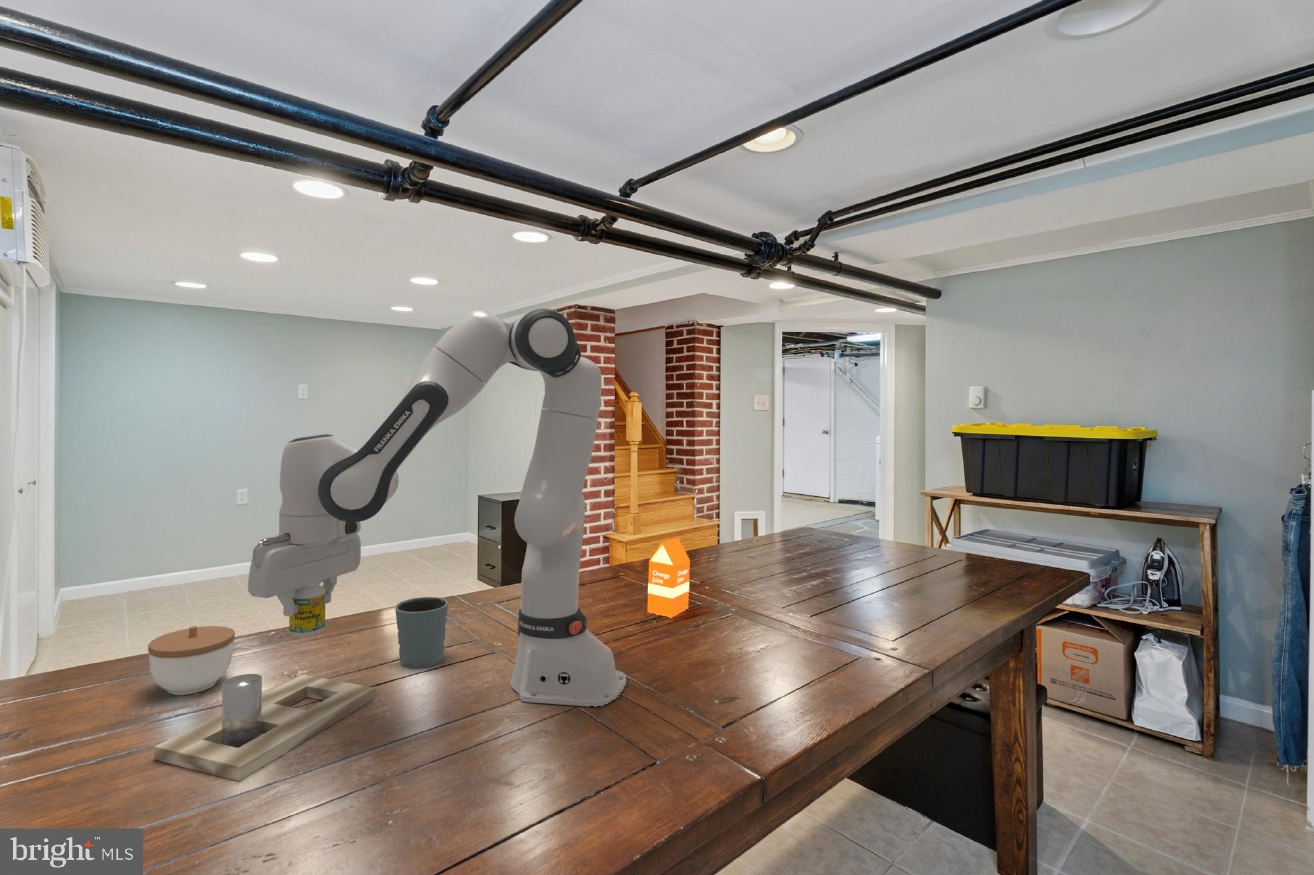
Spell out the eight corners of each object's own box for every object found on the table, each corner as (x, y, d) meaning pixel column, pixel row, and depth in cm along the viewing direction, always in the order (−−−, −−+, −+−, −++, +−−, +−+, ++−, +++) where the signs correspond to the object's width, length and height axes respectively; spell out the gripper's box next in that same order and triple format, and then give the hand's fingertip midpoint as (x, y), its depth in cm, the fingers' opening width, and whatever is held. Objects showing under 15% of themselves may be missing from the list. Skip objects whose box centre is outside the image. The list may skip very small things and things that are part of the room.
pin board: (374, 698, 109) (374, 687, 109) (239, 781, 84) (239, 766, 83) (302, 685, 113) (303, 674, 113) (154, 759, 88) (154, 746, 88)
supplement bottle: (323, 624, 107) (324, 570, 107) (326, 633, 103) (327, 578, 102) (288, 629, 104) (289, 574, 104) (289, 639, 100) (290, 582, 99)
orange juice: (688, 612, 163) (691, 539, 162) (671, 621, 155) (674, 544, 155) (664, 606, 167) (666, 535, 166) (646, 615, 159) (649, 540, 159)
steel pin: (269, 739, 94) (269, 676, 94) (239, 756, 89) (239, 690, 89) (244, 733, 95) (244, 671, 95) (213, 750, 91) (213, 685, 90)
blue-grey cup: (456, 656, 128) (458, 601, 128) (419, 674, 119) (421, 614, 119) (421, 647, 132) (422, 593, 132) (383, 664, 123) (384, 606, 123)
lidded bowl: (250, 678, 115) (251, 621, 114) (178, 708, 103) (179, 644, 103) (204, 667, 119) (204, 612, 119) (130, 694, 107) (130, 633, 107)
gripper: (270, 542, 92) (268, 631, 93) (367, 521, 112) (366, 594, 112) (238, 538, 94) (236, 626, 94) (339, 518, 113) (338, 591, 114)
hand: (308, 609), depth 103 cm, fingers closed on supplement bottle, 5 cm apart
